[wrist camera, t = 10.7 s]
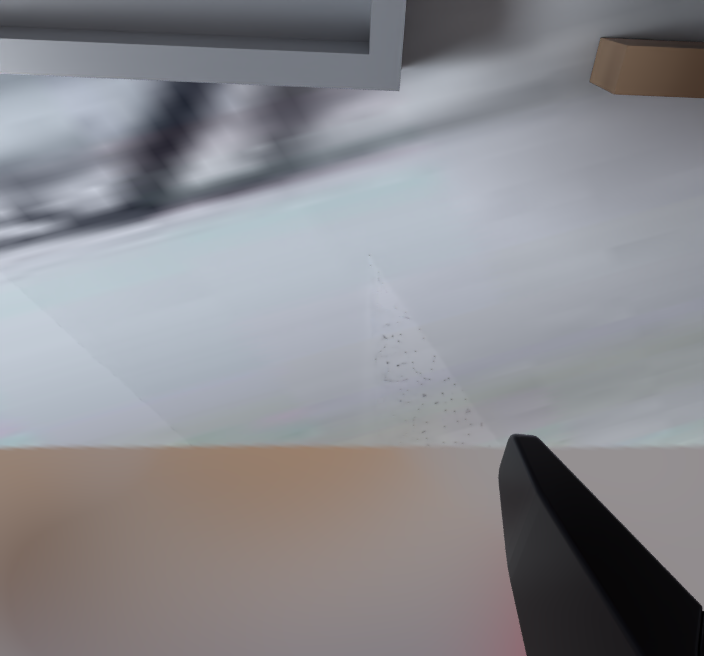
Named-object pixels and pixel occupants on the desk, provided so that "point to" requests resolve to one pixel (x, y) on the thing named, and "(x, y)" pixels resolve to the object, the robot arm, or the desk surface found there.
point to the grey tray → (208, 41)
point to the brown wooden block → (650, 67)
